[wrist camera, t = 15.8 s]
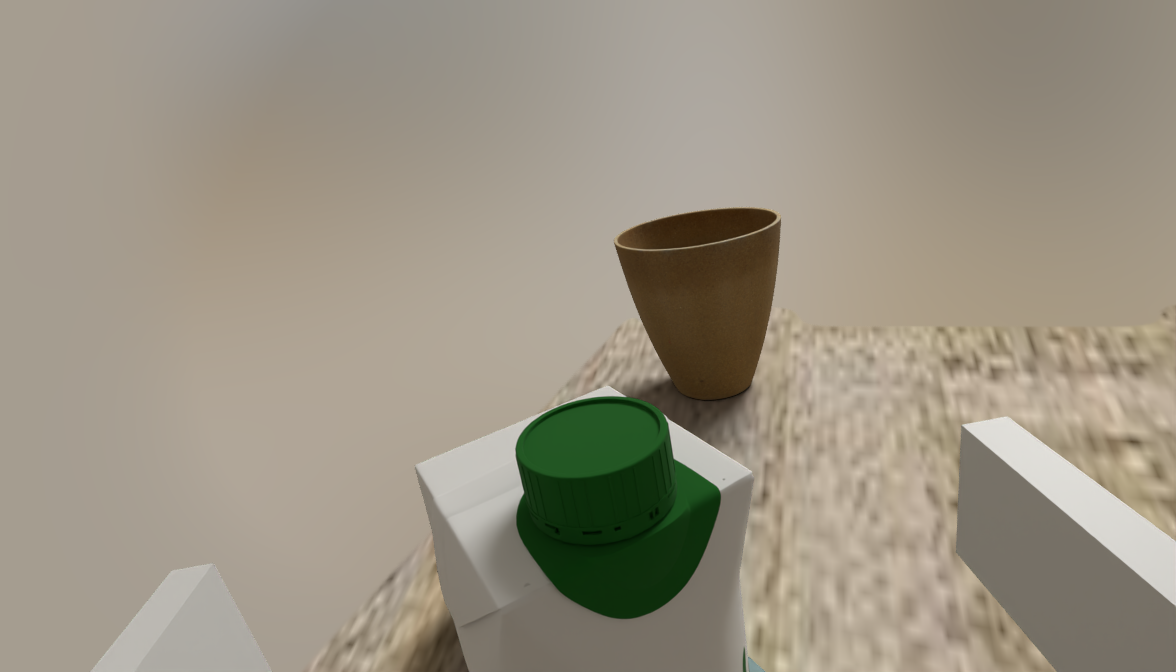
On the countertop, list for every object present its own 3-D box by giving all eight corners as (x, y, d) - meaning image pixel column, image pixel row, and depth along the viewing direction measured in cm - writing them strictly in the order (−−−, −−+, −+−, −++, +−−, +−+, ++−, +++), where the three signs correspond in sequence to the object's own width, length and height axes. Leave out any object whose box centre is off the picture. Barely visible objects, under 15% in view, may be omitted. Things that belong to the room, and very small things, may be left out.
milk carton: (614, 1064, 19) (456, 563, 12) (507, 807, 27) (370, 406, 20) (814, 876, 23) (784, 402, 16) (669, 696, 30) (604, 321, 23)
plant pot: (805, 355, 64) (797, 200, 58) (767, 429, 52) (754, 245, 46) (671, 347, 71) (653, 210, 65) (612, 411, 60) (584, 251, 54)
